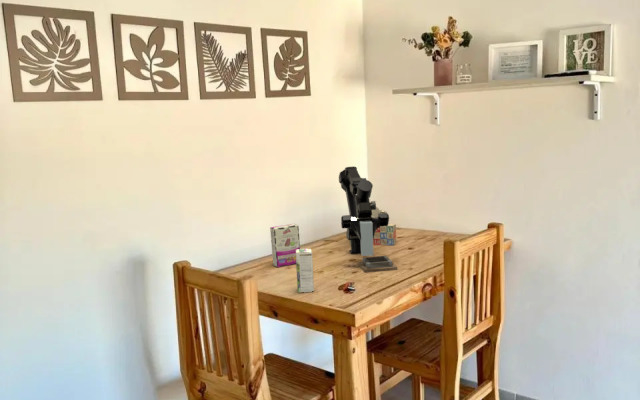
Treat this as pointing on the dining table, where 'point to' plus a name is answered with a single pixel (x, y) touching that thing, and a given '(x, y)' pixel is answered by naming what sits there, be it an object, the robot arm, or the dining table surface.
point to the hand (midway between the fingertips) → (366, 238)
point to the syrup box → (304, 270)
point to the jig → (377, 264)
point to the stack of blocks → (384, 235)
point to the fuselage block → (366, 238)
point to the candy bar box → (284, 244)
